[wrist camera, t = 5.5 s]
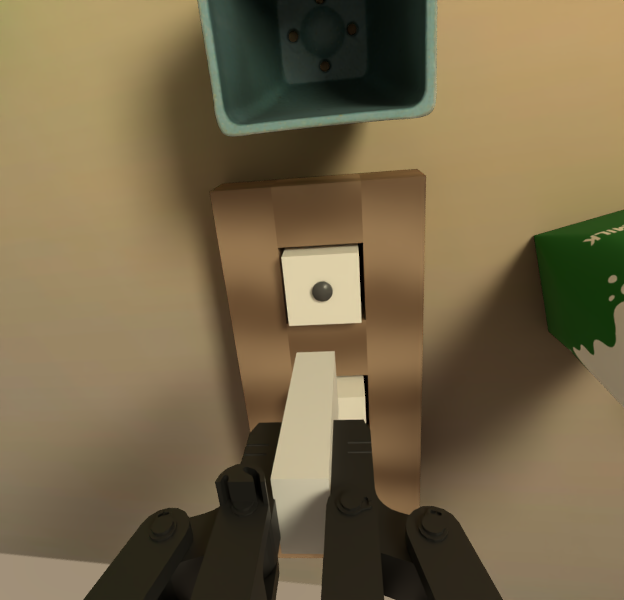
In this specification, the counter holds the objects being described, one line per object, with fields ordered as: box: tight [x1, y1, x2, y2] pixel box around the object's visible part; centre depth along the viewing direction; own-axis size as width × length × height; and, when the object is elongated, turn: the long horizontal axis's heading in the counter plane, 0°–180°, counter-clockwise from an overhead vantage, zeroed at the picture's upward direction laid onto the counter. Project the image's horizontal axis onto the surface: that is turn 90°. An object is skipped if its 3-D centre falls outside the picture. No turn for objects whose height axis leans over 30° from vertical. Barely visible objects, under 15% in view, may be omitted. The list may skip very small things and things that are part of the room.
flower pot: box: [197, 0, 437, 136], centre depth 20 cm, size 9×9×9 cm
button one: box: [281, 243, 362, 326], centre depth 27 cm, size 4×4×4 cm
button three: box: [336, 375, 366, 423], centre depth 30 cm, size 4×4×4 cm
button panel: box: [210, 169, 426, 558], centre depth 32 cm, size 30×12×3 cm, turn 5°
